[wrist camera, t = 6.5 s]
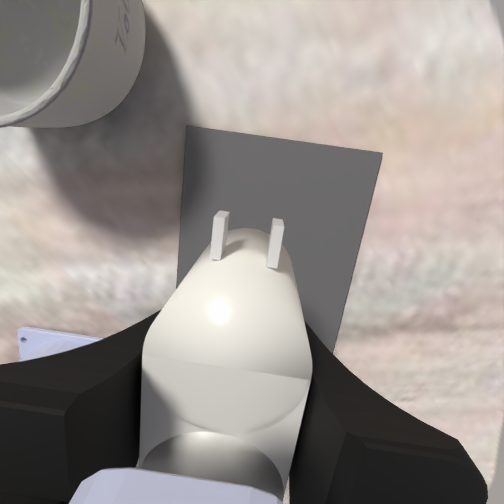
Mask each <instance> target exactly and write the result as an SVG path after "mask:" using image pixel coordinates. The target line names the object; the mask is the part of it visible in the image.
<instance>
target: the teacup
mask: <svg viewBox="0 0 504 504" xmlns="http://www.w3.org/2000/svg"><path fill="white" fill-rule="evenodd" d="M145 34H146V26H145V15H144V7H143V2H142V0H0V128H1V127H7V126H13V127H36V128H62V127H72V126H78V125H83V124H86V123H89V122H93V121H95V120H97V119H99V118H101V117H103V116H105V115H106V114H108V113H109V112H111V111H112V110H113V109H114V108H116V107H117V106H118V105H119V104H120V103H121V102H122V101H123V100H124V99H125V97H126V96H127V94H128V93H129V92H130V90H131V88H132V86H133V85H134V83H135V81H136V78H137V76H138V74H139V71H140V68H141V65H142V61H143V55H144V48H145Z"/></svg>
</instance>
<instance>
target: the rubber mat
mask: <svg viewBox="0 0 504 504" xmlns="http://www.w3.org/2000/svg"><path fill="white" fill-rule="evenodd" d="M382 154H383V153H380V152H373V151H366V150H358V149H351V148H344V147H337V146H330V145H322V144H315V143H308V142H301V141H294V140H287V139H279V138H272V137H265V136H258V135H251V134H244V133H236V132H229V131H222V130H215V129H208V128H200V127H193V126H187V127H186V143H185V158H184V174H183V190H182V206H181V221H180V237H179V253H178V268H177V284H176V289H177V288H178V286H179V285H180V284H181V282H182V281H183V279H184V278H185V277H186V275H187V274H188V272H189V271H190V270H191V268H192V267H193V265H194V264H195V263H196V261H197V260H198V258H199V257H200V256H201V254H202V253H203V251H204V250H205V249H206V247H207V246H208V245H209V244H210V242H211V240H212V230H213V220H214V216H215V215H216V214H217V213H218V212H219V211H227V212H230V213H229V222H228V231H230V230H233V229H238V228H251V229H256V230H260V231H263V232H265V233H267V234H269V235H270V232H271V226H272V220H273V218H276V219H283V223H284V231H283V237H282V243H281V244H282V245H283V246H284V248H285V249H286V251H287V252H288V254H289V256H290V259H291V262H292V266H293V271H294V275H295V280H296V285H297V290H298V294H299V299H300V304H301V308H302V313H303V318H304V321H305V322H306V323H307V324H308V325H309V327H310V328H311V329H312V330H313V332H314V333H315V334H316V335H317V337H318V338H319V339H320V340H321V341H322V343H323V344H324V345H325V346H326V347H327V348H328V349H329V351H330V352H331V353H333V349H334V345H335V341H336V337H337V333H338V329H339V325H340V321H341V317H342V313H343V309H344V305H345V302H346V298H347V294H348V290H349V286H350V282H351V278H352V274H353V270H354V266H355V262H356V258H357V254H358V250H359V246H360V242H361V238H362V234H363V230H364V226H365V222H366V218H367V214H368V210H369V206H370V202H371V198H372V194H373V190H374V186H375V182H376V178H377V174H378V170H379V166H380V162H381V158H382Z"/></svg>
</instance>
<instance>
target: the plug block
mask: <svg viewBox="0 0 504 504" xmlns="http://www.w3.org/2000/svg"><path fill="white" fill-rule="evenodd" d="M229 213H230V212H227V211H219V212H218V213H217V214H216V215H215V216H214V220H213V230H212V240H211V242H210V244H209V245H208V246H207V247H206V249H205V250H204V251H203V253H202V254H201V256H200V257H199V258H198V260H197V261H196V263H195V264H194V265H193V267H192V268H191V270H190V271H189V272H188V274H187V275H186V277H185V278H184V279H183V281H182V282H181V284H180V285H179V286H178V288H177V289H176V291H175V292H174V293H173V295H172V296H171V298H170V299H169V300H168V302H167V303H166V305H165V306H164V307H163V309H162V310H161V312H160V313H159V314H158V316H157V317H156V319H155V320H154V322H153V323H152V325H151V326H150V328H149V330H148V332H147V335H146V337H145V341H144V345H143V353H142V382H141V416H140V451H139V469H144V470H151V471H157V472H164V473H170V474H176V475H183V476H189V477H196V478H202V479H209V480H215V481H221V482H228V483H234V484H241V485H247V486H252V487H254V488H257V489H260V490H263V491H265V492H268V493H271V494H274V495H275V496H276V497H277V498H278V499H279V500H280V501H281V502H282V501H283V498H284V493H285V489H286V485H287V480H288V476H289V472H290V468H291V463H292V459H293V455H294V450H295V446H296V442H297V438H298V433H299V429H300V425H301V420H302V416H303V412H304V408H305V403H306V399H307V395H308V390H309V386H310V382H311V376H312V357H311V351H310V346H309V341H308V337H307V332H306V327H305V322H304V318H303V313H302V308H301V304H300V299H299V294H298V290H297V285H296V280H295V275H294V271H293V266H292V262H291V259H290V256H289V254H288V252H287V251H286V249H285V248H284V246H283V245H282V244H281V243H282V237H283V231H284V223H283V219H276V218H273V220H272V226H271V232H270V235H269V234H267V233H265V232H263V231H260V230H256V229H251V228H238V229H233V230H230V231H228V222H229Z"/></svg>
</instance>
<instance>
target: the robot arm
mask: <svg viewBox="0 0 504 504" xmlns="http://www.w3.org/2000/svg"><path fill="white" fill-rule="evenodd" d="M161 310H162V309H161ZM161 310H160V311H158V312H156V313H155V314H153V315H151V316H149V317H148V318H146V319H144V320H142V321H140V322H138V323H136V324H134V325H133V326H131V327H129V328H127V329H125V330H123V331H121V332H118V333H116V334H114V335H111V336H109V337H107V338H100V337H93V336H87V335H80V334H73V333H67V332H60V331H53V330H47V329H40V328H33V327H26V326H24V327H22V328H20V329H19V330H18V331H17V335H18V344H19V353H20V361H18V362H14V363H8V364H1V365H0V504H283V503H282V502H281V501H280V500H279V499H278V498H277V497H276V496H275V495H274V494H271V493H268V492H265V491H263V490H260V489H257V488H254V487H252V486H247V485H241V484H234V483H228V482H221V481H215V480H209V479H202V478H196V477H189V476H183V475H176V474H170V473H164V472H157V471H151V470H144V469H138V468H135V467H136V464H137V461H138V459H139V451H140V416H141V382H142V353H143V345H144V341H145V337H146V335H147V332H148V330H149V328H150V326H151V325H152V323H153V322H154V320H155V319H156V317H157V316H158V314H159V313H160V312H161ZM304 322H305V321H304ZM305 327H306V332H307V337H308V341H309V346H310V351H311V357H312V376H311V382H310V386H309V390H308V395H307V399H306V403H305V408H304V412H303V416H302V420H301V425H300V429H299V433H298V438H297V442H296V446H295V450H294V455H293V459H292V463H291V468H290V472H289V493H290V504H486V502H487V499H488V491H487V484H486V482H485V480H484V478H483V476H482V474H481V473H480V471H479V470H478V468H477V467H476V465H475V464H474V462H473V461H472V459H471V458H470V457H469V455H468V454H467V452H466V451H465V449H464V448H463V446H462V445H461V443H460V442H459V441H458V440H457V439H455V438H453V437H451V436H449V435H448V434H446V433H444V432H442V431H440V430H438V429H436V428H434V427H432V426H430V425H428V424H426V423H424V422H422V421H420V420H419V419H417V418H415V417H414V416H412V415H410V414H409V413H407V412H405V411H403V410H402V409H400V408H399V407H397V406H395V405H394V404H392V403H391V402H389V401H388V400H386V399H385V398H384V397H382V396H381V395H379V394H378V393H377V392H375V391H374V390H372V389H371V388H370V387H368V386H367V385H366V384H365V383H363V382H362V381H361V380H360V379H359V378H357V377H356V376H355V375H354V374H353V373H352V372H350V371H349V370H348V369H347V368H346V367H345V366H344V365H343V364H342V363H341V362H340V361H339V360H338V359H337V358H336V357H335V356H334V355H333V354H332V353H331V352H330V351H329V349H328V348H327V347H326V346H325V345H324V344H323V343H322V341H321V340H320V339H319V338H318V337H317V335H316V334H315V333H314V332H313V330H312V329H311V328H310V327H309V325H308V324H307V323H306V322H305ZM25 338H26V339H27V340H26V339H25Z"/></svg>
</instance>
